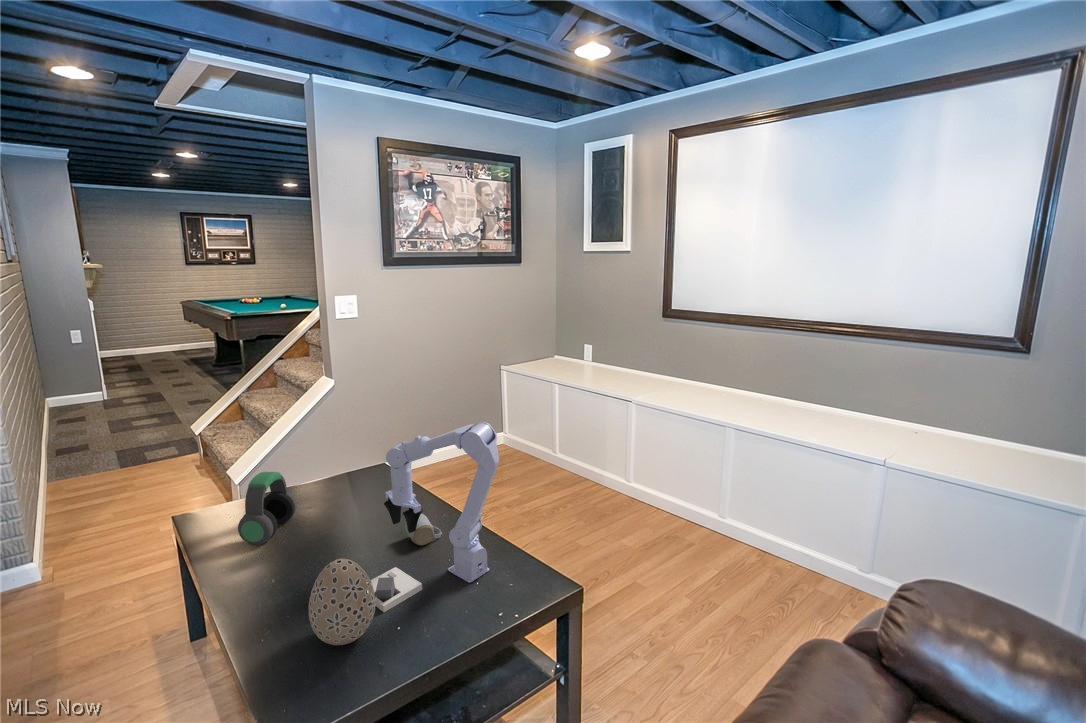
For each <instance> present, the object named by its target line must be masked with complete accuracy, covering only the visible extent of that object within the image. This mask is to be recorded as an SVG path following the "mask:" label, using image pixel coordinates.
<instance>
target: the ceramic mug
mask: <svg viewBox="0 0 1086 723" xmlns="http://www.w3.org/2000/svg"><path fill="white" fill-rule="evenodd" d="M404 530H405V532H406V534H407V535H408V536H409V538H410V539H411V541H412V542H413V543H414V544H415V545H418V546H425V545H427V544H429V543H431V541H432V540H433V539H440V538H441V536H442V534H443V532H442V530H441V529H440V528H439V527H437V526H435V525H432V523H431V522H430V519H428V516H426V515H425V514H424V513H421V515H420V517H419V519H418V522H417V527H416V531H414V532H412V533H409V532H408V528H407V522H406V521H405V523H404Z"/></svg>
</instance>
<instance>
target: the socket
mask: <svg viewBox="0 0 1086 723" xmlns="http://www.w3.org/2000/svg"><path fill="white" fill-rule="evenodd" d="M386 577H394V584H395V591H394V596H393V597H392V598H390V599H389V600H387V601H381V600H379V599H378V598H377V594H376V587H377V583H378V579H379V578H386ZM370 581H371V583H372V586H373V589H374V592H375V608H377V609H378V610H380V611H382V613H386V612H387V611H390V609H392V608H394V607H396V606H397V605H399V604H400V603H402V602H405V600H407V599H409V598H410V597H411V598H412V597H413V596H414V595H415V594H417V593H420V592H421V591H422V590H423V583H422V582H420V581H419V580H417V579H415V578H413V577H412V576H410V574H407V573H405V572H404V571H403V570H401V569H400V568H398V567H396V566H395V567H393V568H391V569H389V570H387V571H386V572H383V573H382V574H379V575H377V576H376V577H374V578H372V579H370ZM367 584H369V583H368V581H367ZM367 593H369V592H368V590H367ZM371 596H372V594H371ZM373 604H374V601H373Z"/></svg>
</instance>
